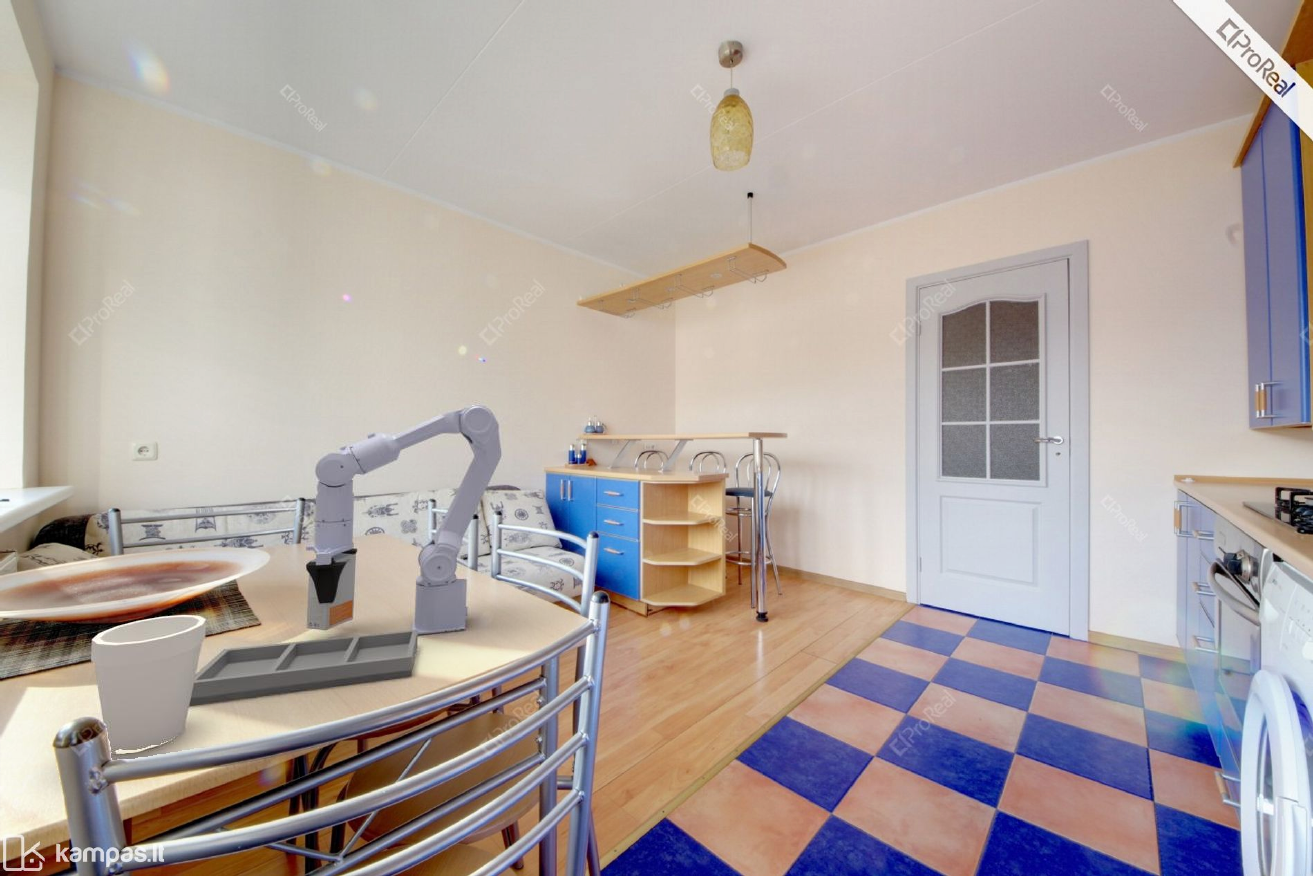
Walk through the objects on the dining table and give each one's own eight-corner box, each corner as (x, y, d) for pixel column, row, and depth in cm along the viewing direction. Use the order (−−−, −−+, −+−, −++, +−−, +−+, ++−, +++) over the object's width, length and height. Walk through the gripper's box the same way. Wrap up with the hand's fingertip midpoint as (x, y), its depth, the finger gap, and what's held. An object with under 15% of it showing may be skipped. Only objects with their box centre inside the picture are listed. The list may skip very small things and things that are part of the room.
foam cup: (170, 710, 64) (175, 611, 65) (220, 724, 62) (224, 620, 62) (67, 753, 55) (71, 638, 55) (119, 771, 53) (124, 650, 53)
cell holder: (417, 646, 86) (417, 629, 86) (410, 676, 75) (411, 656, 75) (223, 668, 76) (224, 649, 76) (183, 706, 65) (184, 684, 65)
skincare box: (326, 631, 84) (328, 561, 84) (305, 629, 85) (308, 559, 85) (354, 619, 90) (356, 554, 90) (335, 616, 91) (337, 552, 91)
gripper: (319, 514, 93) (316, 586, 93) (295, 527, 79) (292, 611, 79) (361, 513, 96) (359, 583, 95) (345, 526, 82) (342, 607, 82)
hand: (332, 596), depth 88 cm, fingers closed on skincare box, 7 cm apart
